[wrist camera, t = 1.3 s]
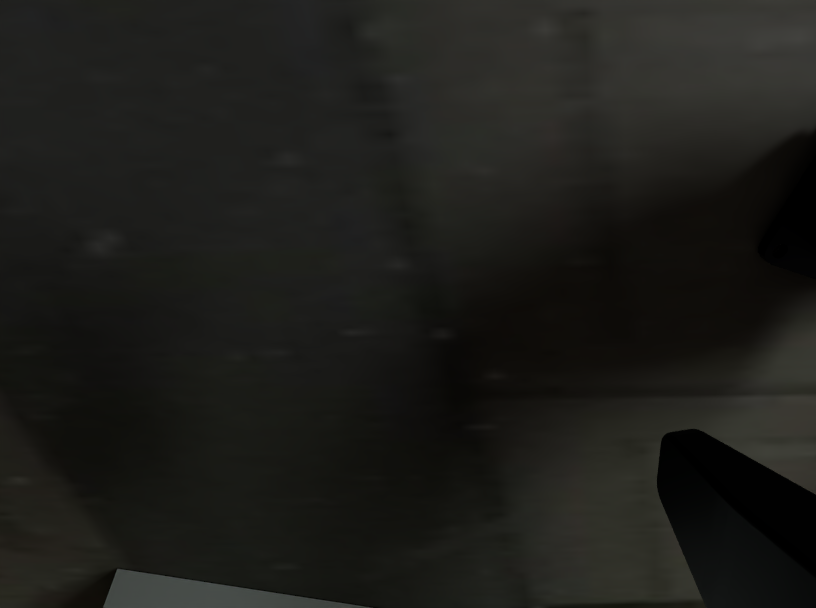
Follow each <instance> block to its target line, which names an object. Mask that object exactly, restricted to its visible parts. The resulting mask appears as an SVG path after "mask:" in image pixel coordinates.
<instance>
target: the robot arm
mask: <svg viewBox="0 0 816 608" xmlns="http://www.w3.org/2000/svg"><path fill="white" fill-rule="evenodd" d="M779 244H781V245H780V248H779V249H778V250H777V251H776V252H774V253H772V252H773V249H774V248H775V247H776V246H777V245H779ZM758 253H759V255H760V257H761V258H763V259H764V260H765V261H767V262H768V263H770V264H771V265H774V266H777V267H780V268H784V269H787V270H790V271H793V272H796V273H799V274H802V275H805V276H808V277H811V278H814V279H816V156H815V157H814V159H813V160H812V162H811V163H810V165H809V167H808V168H807V170H806V171H805V173H804V174H803V176H802V178H801V179H800V181H799V182H798V184H797V186H796V187H795V189H794V190H793V192H792V193H791V195H790V197H789V198H788V200H787V201H786V203H785V204H784V206H783V208H782V209H781V211H780V212H779V214H778V215H777V217H776V219H775V220H774V222H773V223H772V225H771V226H770V228H769V230H768V231H767V233H766V234H765V236H764V237H763V239H762V241H761V242H760V245H759V247H758ZM657 488H658V493H659V497H660V500H661V502H662V505H663V507H664V509H665V512H666V514H667V516H668V519H669V521H670V523H671V526H672V528H673V531H674V533H675V535H676V538H677V540H678V542H679V545H680V547H681V549H682V552H683V554H684V556H685V559H686V561H687V564H688V566H689V568H690V571H691V573H692V575H693V578H694V580H695V582H696V585H697V587H698V589H699V592H700V594H701V596H702V599H703V601H704V603H705V605H706V607H707V608H816V495H815V494H814V493H812V492H810V491H808V490H806V489H805V488H803V487H801V486H799V485H797V484H796V483H794V482H792V481H790V480H789V479H787V478H785V477H783V476H781V475H780V474H778V473H776V472H774V471H772V470H771V469H769V468H767V467H765V466H763V465H762V464H760V463H758V462H756V461H755V460H753V459H751V458H749V457H747V456H746V455H744V454H742V453H740V452H738V451H737V450H735V449H733V448H731V447H729V446H728V445H726V444H724V443H722V442H721V441H719V440H717V439H715V438H713V437H712V436H710V435H708V434H706V433H704V432H702V431H700V430H697V429H688V430H681V431H675V432H669V433H667V434H665V435H664V436H663V438H662V441H661V447H660V456H659V466H658V475H657Z"/></svg>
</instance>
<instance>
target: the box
mask: <svg viewBox="0 0 816 608" xmlns="http://www.w3.org/2000/svg"><path fill="white" fill-rule="evenodd" d="M103 608H371V607H364V606H358V605H351V604H345V603H338V602H332V601H325V600H319V599H312V598H306V597H299V596H292V595H286V594H279V593H273V592H266V591H260V590H253V589H247V588H240V587H234V586H227V585H221V584H214V583H208V582H201V581H195V580H188V579H182V578H175V577H169V576H162V575H156V574H149V573H143V572H136V571H130V570H123V569H117V571H116V574H115V577H114V579H113V582H112V585H111V587H110V590H109V593H108V596H107V598H106V601H105V604H104V606H103Z"/></svg>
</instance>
